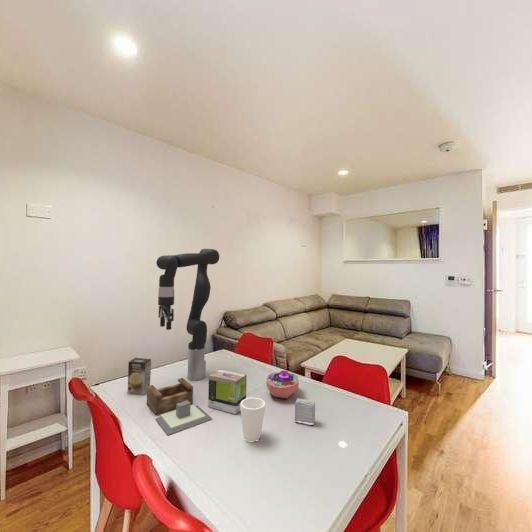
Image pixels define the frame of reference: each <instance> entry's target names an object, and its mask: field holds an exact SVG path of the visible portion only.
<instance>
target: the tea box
mask: <svg viewBox="0 0 532 532" xmlns="http://www.w3.org/2000/svg"><path fill="white" fill-rule="evenodd" d="M247 378H248V377H247V373H242V372H238V371H231V370H226V369H218V370H216V371H215V372H213V373H211V374H209V375H208V392H207V394H208V397H207V403H208V405H207V407H208V408H212V409H215V410H218V411H222V412H226V413H229V414H234V415H237V414H238V413H239V412H241V410H240V403H241V401H242V400H244V399H246V398H247ZM238 411H239V412H238Z"/></svg>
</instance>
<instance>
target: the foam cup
mask: <svg viewBox="0 0 532 532" xmlns="http://www.w3.org/2000/svg"><path fill="white" fill-rule="evenodd" d="M265 411H266V402H265V400H263V399H261V398H260V397H246V399H244V400H242V401H241V403H240V415H241V417H240V418H241V424H242V433H243V434H242V435H243V440H244V439H246V440H247V441H256V440H258V439H259V438H260V439H261V436H262V435H261V434H262V428H263V421H264V415H265ZM247 441H246V442H247ZM258 441H259V440H258Z"/></svg>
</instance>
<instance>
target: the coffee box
mask: <svg viewBox="0 0 532 532" xmlns="http://www.w3.org/2000/svg"><path fill="white" fill-rule="evenodd" d="M151 370H152V359H151V358H144V357H143V358H142V357H141V358H140V357H133V359H131V360H130V361H128V370H127V373H128V374H127V394H131V395H139V396H140V395H141V396H145V395H147V386H151V372H152V371H151Z"/></svg>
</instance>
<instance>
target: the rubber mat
mask: <svg viewBox="0 0 532 532" xmlns="http://www.w3.org/2000/svg"><path fill="white" fill-rule="evenodd" d="M194 406H195V407H197V408H198V409H199V410H200V411H201V412H202V413H203V414H204V415H205V416H206V418H205V419H202V420H199V421H196V422H193V423H191V424H188V425H185V426H182V427H179V428H176V429H174V430H170V428H169V427H168V426H167V425H166V423H165V422H164V421H163V420H162V418H161V417H157V418H154V419H155V422H156V423H157V424H158V425H159V427H160V428H161V429H162V431H163V432H164V433H165V434H166V436H168V437H169V436H171V435H174V434H177V433H180V432H182V431H184V430H187V429H190V428H192V427H196V426H199V425H201V424H204V423H207V422H210V421H212V420H213V418H212V417H211V416H210V415H209V414H208V413H207V412H205V410H203V409H202V408H201V407H200V406H199V405H194Z"/></svg>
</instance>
